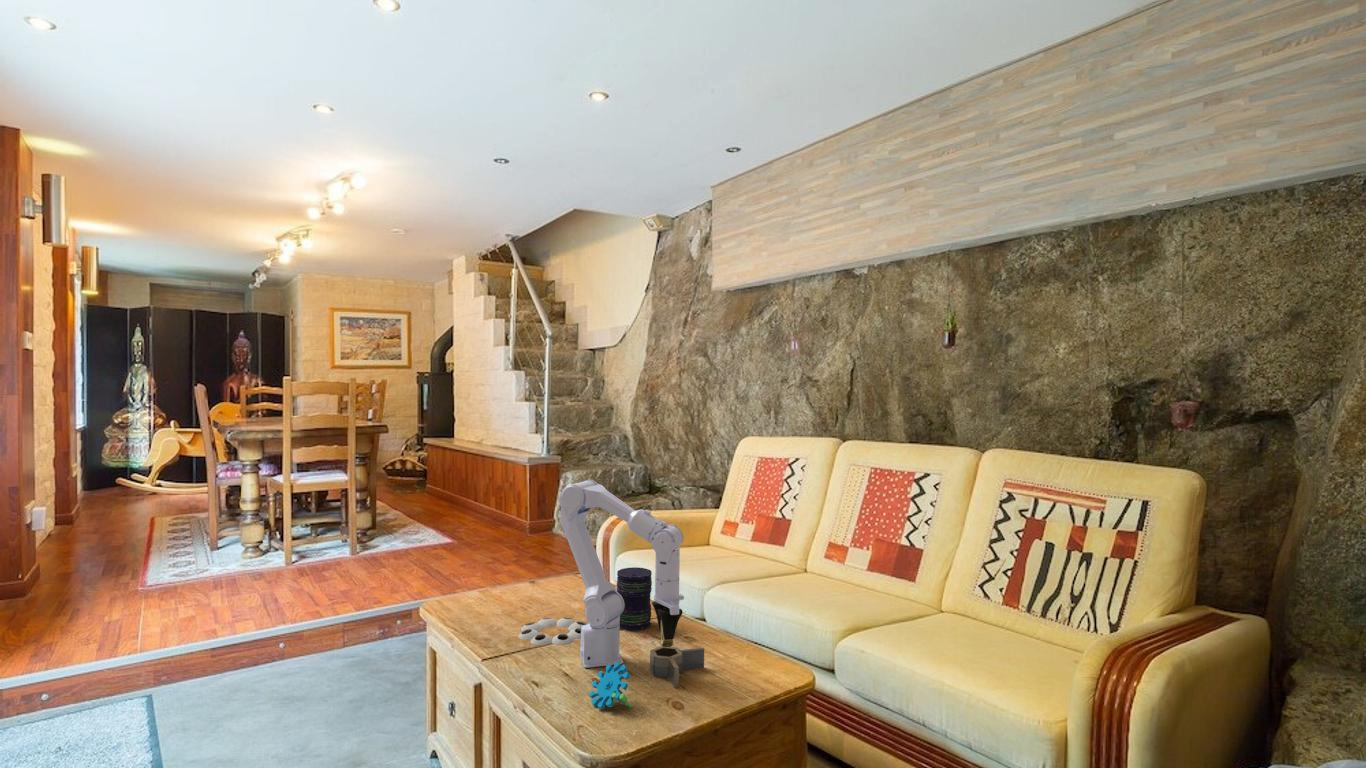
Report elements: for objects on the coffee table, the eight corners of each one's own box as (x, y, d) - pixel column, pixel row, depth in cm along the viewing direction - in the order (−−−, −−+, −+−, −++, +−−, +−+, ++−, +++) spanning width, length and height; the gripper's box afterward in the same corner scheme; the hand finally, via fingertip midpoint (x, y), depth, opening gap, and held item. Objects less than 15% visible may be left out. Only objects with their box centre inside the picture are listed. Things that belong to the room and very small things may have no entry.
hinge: (661, 689, 152) (661, 669, 152) (647, 666, 165) (648, 647, 165) (715, 683, 156) (716, 663, 156) (698, 660, 168) (698, 642, 168)
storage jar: (618, 618, 197) (619, 566, 197) (652, 619, 197) (653, 567, 197) (613, 631, 188) (614, 576, 188) (649, 632, 187) (650, 577, 187)
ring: (600, 640, 182) (600, 633, 182) (527, 652, 173) (527, 644, 173) (578, 617, 199) (578, 610, 199) (510, 627, 191) (510, 619, 191)
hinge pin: (660, 648, 159) (660, 613, 159) (657, 642, 163) (657, 608, 163) (677, 646, 160) (677, 612, 160) (673, 641, 164) (673, 607, 164)
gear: (581, 689, 148) (613, 652, 151) (597, 703, 151) (628, 666, 153) (601, 718, 139) (635, 678, 141) (619, 732, 141) (651, 692, 144)
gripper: (692, 585, 156) (691, 645, 156) (675, 569, 170) (674, 623, 170) (662, 587, 154) (661, 648, 154) (647, 570, 168) (647, 626, 168)
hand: (666, 635), depth 162 cm, fingers closed on hinge pin, 4 cm apart
